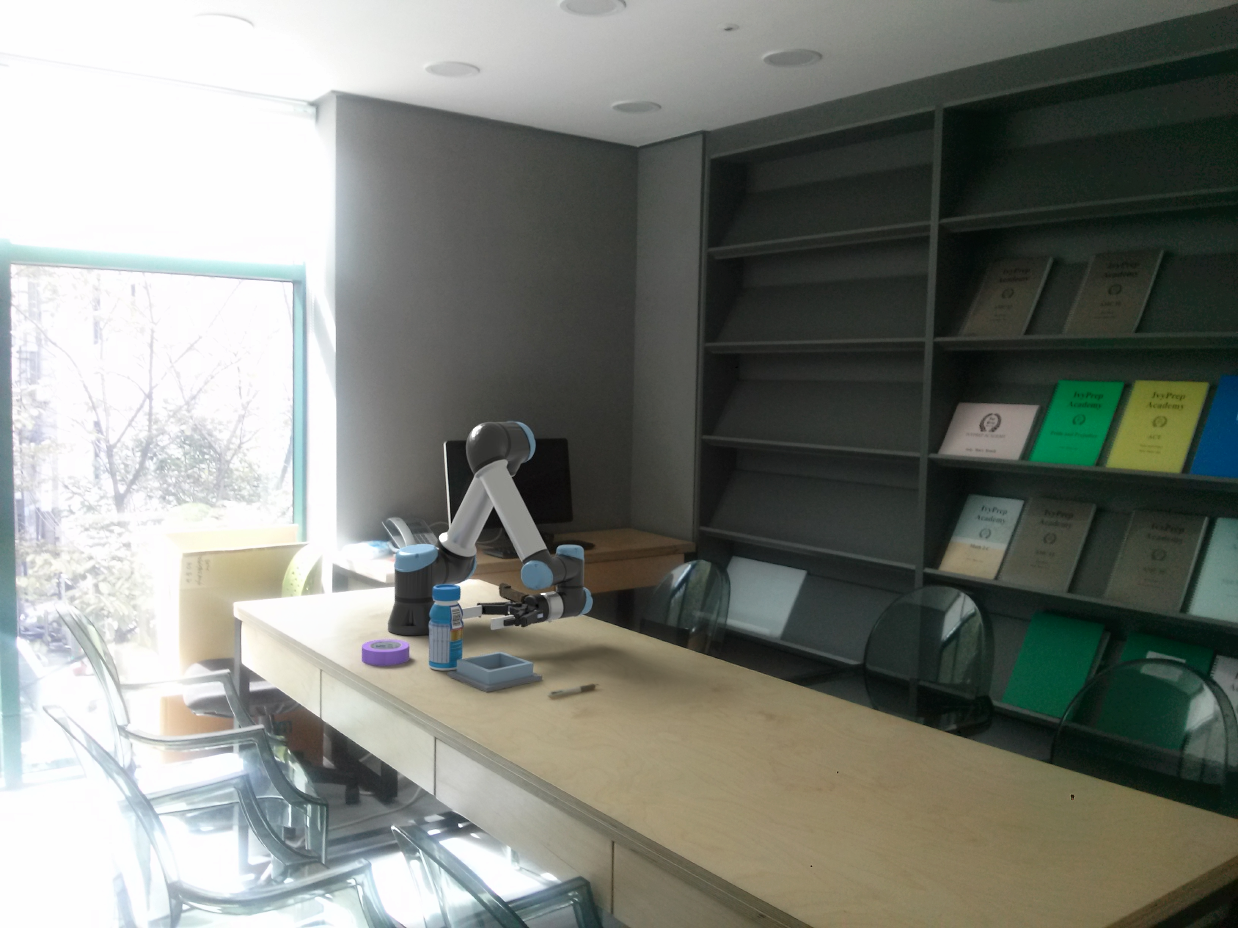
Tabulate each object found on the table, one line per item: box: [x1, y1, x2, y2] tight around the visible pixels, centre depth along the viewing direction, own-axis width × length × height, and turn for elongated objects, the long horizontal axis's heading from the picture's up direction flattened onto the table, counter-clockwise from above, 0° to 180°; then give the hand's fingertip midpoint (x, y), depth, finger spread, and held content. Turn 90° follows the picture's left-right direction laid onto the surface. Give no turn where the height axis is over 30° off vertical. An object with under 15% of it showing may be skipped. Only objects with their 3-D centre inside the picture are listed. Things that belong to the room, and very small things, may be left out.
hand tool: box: [498, 582, 530, 603], centre depth 328 cm, size 19×4×5 cm, turn 31°
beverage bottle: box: [428, 584, 465, 672], centre depth 249 cm, size 8×8×20 cm
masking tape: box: [361, 638, 410, 666], centre depth 255 cm, size 12×12×4 cm
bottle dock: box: [447, 651, 543, 693], centre depth 241 cm, size 16×16×4 cm
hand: (475, 619), depth 254 cm, fingers open, 13 cm apart
